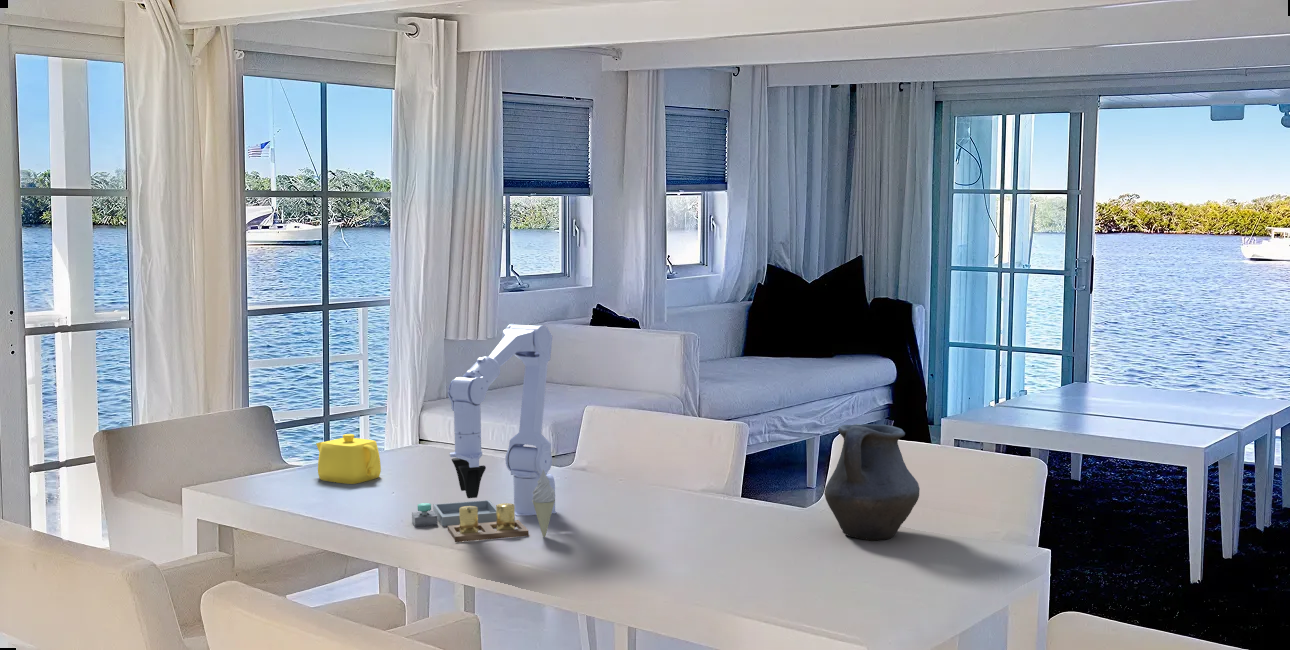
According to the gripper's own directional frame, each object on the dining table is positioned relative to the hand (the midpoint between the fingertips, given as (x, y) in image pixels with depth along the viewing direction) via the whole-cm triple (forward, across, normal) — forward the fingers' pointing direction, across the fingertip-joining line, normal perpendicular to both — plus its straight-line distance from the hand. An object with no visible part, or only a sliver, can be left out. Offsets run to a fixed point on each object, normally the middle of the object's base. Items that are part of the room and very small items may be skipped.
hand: (469, 493), depth 282 cm
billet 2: (+9, 0, +8) cm, 12 cm away
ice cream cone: (+9, +7, +15) cm, 19 cm away
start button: (+8, -12, -8) cm, 16 cm away
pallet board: (+9, 0, +4) cm, 10 cm away
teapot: (+10, -70, -20) cm, 73 cm away
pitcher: (+10, +29, +82) cm, 87 cm away
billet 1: (+9, 0, 0) cm, 9 cm away
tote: (+9, -15, +2) cm, 18 cm away
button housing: (+9, -12, -8) cm, 17 cm away
